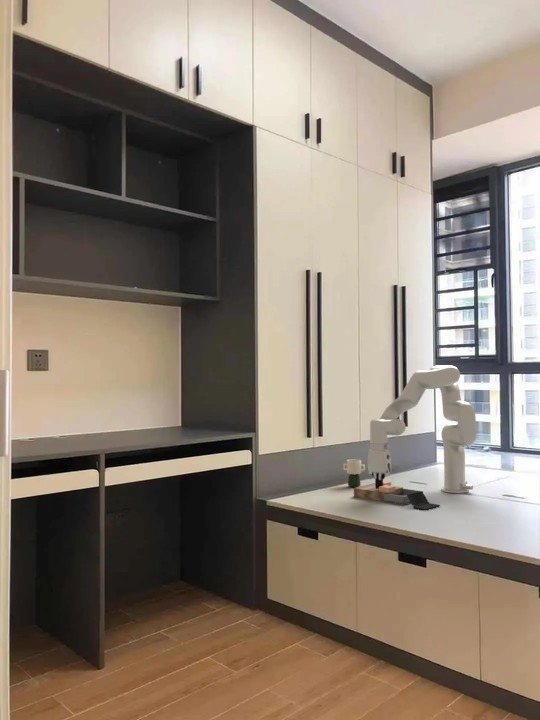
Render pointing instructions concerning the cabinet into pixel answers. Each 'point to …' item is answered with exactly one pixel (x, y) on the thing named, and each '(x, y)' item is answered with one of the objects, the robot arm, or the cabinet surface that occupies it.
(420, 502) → the black sloped piece
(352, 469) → the character mug
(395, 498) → the box
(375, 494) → the board
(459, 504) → the cabinet surface
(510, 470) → the cabinet surface
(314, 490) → the cabinet surface
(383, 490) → the tile
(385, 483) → the tile
